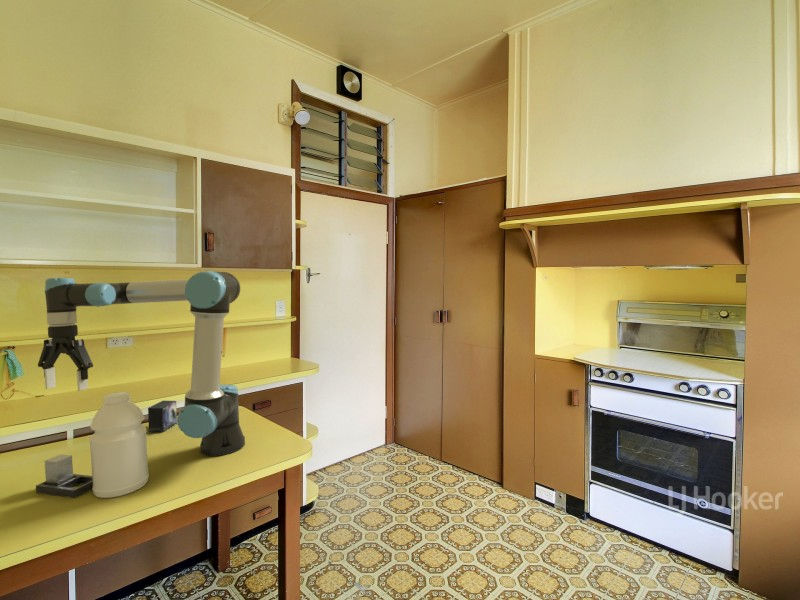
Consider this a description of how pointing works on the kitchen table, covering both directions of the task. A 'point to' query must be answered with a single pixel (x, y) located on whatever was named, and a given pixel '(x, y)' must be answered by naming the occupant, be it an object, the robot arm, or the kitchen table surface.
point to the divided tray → (67, 487)
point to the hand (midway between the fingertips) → (66, 388)
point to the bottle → (118, 447)
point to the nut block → (58, 470)
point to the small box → (162, 416)
